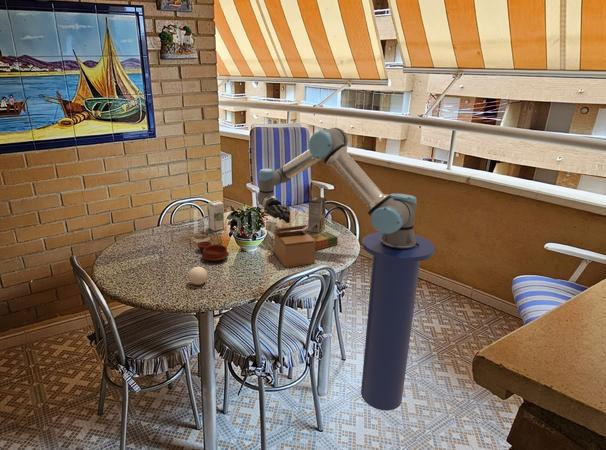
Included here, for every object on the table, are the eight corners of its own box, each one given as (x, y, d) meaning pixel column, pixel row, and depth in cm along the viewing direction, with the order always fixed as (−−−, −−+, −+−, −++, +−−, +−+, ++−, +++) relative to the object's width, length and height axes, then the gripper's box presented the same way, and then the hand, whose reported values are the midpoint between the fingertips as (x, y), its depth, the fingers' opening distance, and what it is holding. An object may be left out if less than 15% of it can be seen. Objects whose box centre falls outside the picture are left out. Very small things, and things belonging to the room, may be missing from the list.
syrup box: (218, 226, 216) (217, 199, 211) (224, 229, 211) (223, 202, 207) (209, 228, 213) (207, 201, 208) (214, 231, 208) (213, 204, 204)
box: (274, 253, 182) (274, 231, 178) (301, 249, 185) (302, 228, 181) (285, 267, 168) (285, 244, 165) (314, 263, 171) (315, 240, 168)
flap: (274, 232, 178) (274, 231, 178) (302, 229, 181) (302, 228, 181) (279, 228, 171) (278, 227, 171) (307, 225, 174) (307, 224, 174)
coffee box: (313, 225, 215) (314, 196, 209) (325, 227, 212) (326, 197, 207) (307, 231, 207) (308, 200, 202) (319, 233, 204) (320, 202, 199)
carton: (299, 246, 189) (299, 237, 187) (326, 239, 197) (326, 230, 195) (310, 252, 182) (310, 243, 181) (337, 244, 190) (338, 235, 188)
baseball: (212, 282, 156) (211, 266, 154) (197, 289, 151) (196, 273, 149) (200, 277, 161) (199, 261, 158) (185, 284, 155) (184, 268, 153)
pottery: (209, 266, 169) (208, 257, 168) (189, 251, 185) (189, 242, 184) (233, 260, 175) (233, 250, 174) (212, 245, 191) (212, 236, 190)
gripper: (284, 211, 203) (301, 226, 182) (259, 213, 200) (273, 229, 179) (284, 196, 201) (302, 210, 179) (259, 198, 198) (273, 213, 176)
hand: (288, 220), depth 179 cm, fingers closed
